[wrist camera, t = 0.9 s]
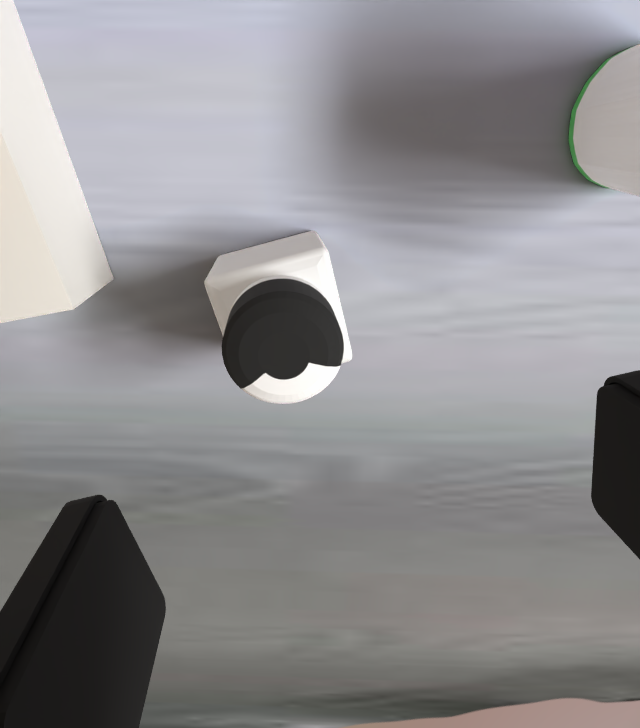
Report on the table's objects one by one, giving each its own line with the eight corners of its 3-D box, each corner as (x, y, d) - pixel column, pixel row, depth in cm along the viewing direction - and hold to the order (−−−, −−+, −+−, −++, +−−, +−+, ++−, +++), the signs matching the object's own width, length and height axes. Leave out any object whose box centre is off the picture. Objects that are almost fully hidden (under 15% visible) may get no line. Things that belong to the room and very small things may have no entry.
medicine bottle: (215, 255, 31) (185, 306, 21) (316, 228, 31) (339, 265, 20) (247, 348, 34) (235, 435, 24) (339, 323, 34) (370, 400, 23)
